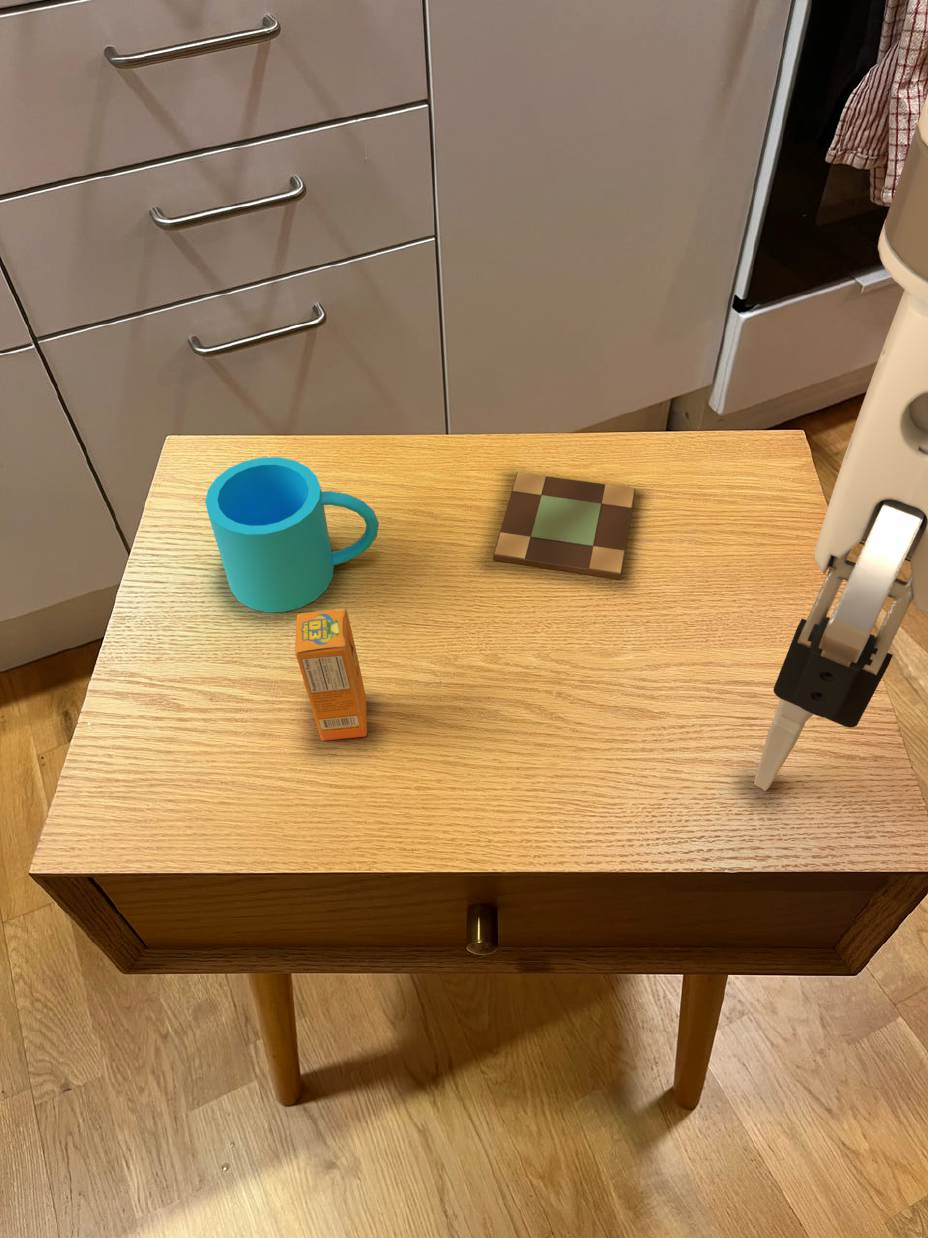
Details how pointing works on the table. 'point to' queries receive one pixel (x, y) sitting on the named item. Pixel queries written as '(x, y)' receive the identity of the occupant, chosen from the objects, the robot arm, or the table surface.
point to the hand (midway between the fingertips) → (853, 622)
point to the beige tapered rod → (780, 741)
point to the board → (566, 525)
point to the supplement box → (331, 673)
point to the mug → (279, 532)
